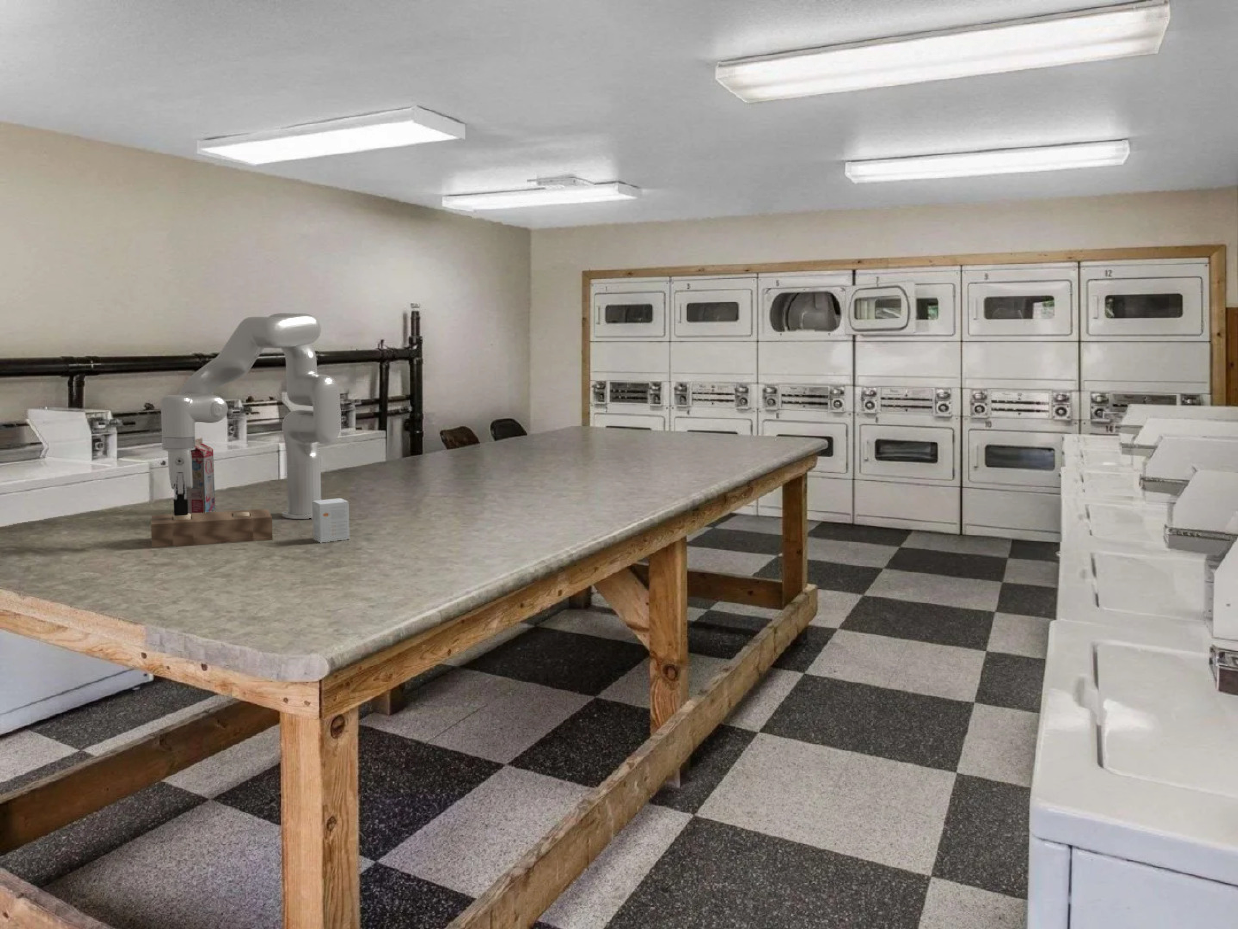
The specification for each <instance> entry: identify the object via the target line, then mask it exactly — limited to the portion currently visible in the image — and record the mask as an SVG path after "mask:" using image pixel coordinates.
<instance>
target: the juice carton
mask: <svg viewBox="0 0 1238 929" xmlns="http://www.w3.org/2000/svg"><path fill="white" fill-rule="evenodd" d="M191 457H192V484H193V488H191V489H190V487H187V486H186V489H187V490H186V496H187V499H188V513H205V511H206V512H210V511H212V510H214V509H215V510H216V494H215V492H216V490H215V489H216V488H215V486H216V485H215V464H214V462H215V461H214V458H215V457H214V449H213V448H212V447H210V446H208V445H207V444H205V443H203V438H202V437H201V438H195V450H191ZM215 510H214V511H215ZM212 512H213V511H212Z"/></svg>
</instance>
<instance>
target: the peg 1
mask: <svg viewBox="0 0 1238 929" xmlns="http://www.w3.org/2000/svg"><path fill="white" fill-rule="evenodd" d="M188 519H191V514H189V513H188V515H179V516H175V515H173V520H188Z"/></svg>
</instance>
